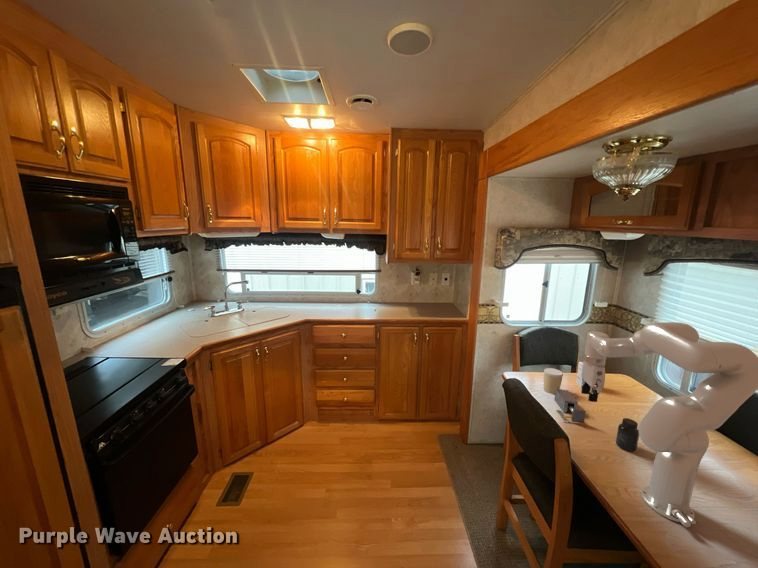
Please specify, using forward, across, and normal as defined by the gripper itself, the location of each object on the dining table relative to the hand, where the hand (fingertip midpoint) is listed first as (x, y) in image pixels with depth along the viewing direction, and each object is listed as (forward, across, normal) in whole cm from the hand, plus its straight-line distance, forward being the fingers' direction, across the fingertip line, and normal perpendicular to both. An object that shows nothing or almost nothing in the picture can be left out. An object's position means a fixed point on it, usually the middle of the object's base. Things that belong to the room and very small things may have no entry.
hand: (588, 397), depth 128 cm
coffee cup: (+18, +35, +1) cm, 39 cm away
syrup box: (+18, +44, -20) cm, 51 cm away
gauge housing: (+17, +15, +2) cm, 23 cm away
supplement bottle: (+18, -7, -13) cm, 23 cm away
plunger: (+17, +11, +2) cm, 20 cm away
